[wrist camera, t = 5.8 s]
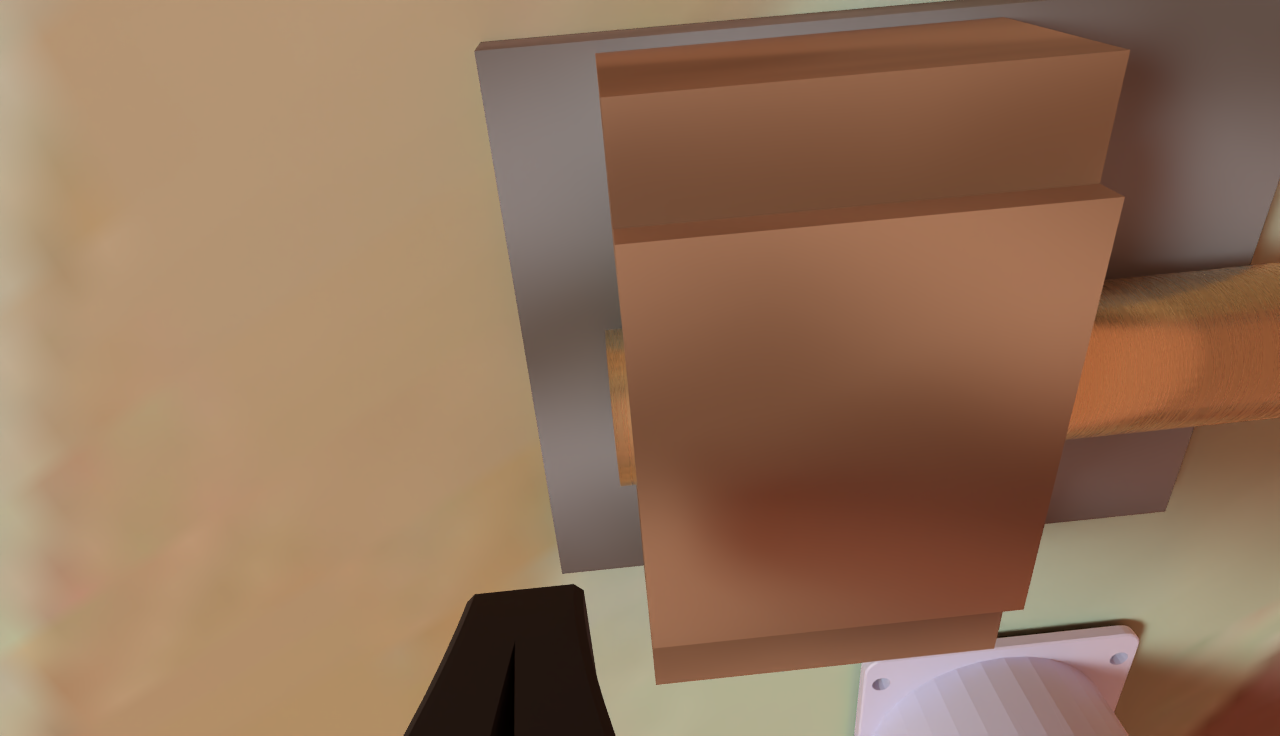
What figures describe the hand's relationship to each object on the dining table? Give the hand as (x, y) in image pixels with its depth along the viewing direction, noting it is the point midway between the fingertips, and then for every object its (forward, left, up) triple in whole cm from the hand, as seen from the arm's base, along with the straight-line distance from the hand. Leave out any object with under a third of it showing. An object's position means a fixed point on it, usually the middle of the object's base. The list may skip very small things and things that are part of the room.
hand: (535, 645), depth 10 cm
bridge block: (0, -7, -8) cm, 11 cm away
